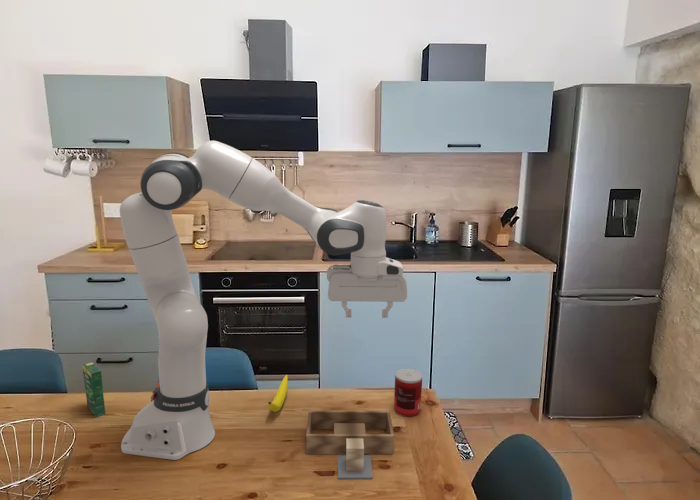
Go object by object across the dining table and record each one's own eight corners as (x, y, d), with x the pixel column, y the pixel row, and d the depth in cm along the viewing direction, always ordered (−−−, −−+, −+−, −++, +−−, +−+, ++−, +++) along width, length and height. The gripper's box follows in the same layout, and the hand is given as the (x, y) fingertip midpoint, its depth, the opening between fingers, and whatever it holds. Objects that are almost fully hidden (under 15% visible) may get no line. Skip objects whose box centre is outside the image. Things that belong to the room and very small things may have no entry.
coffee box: (86, 406, 143) (81, 363, 140) (96, 402, 145) (92, 360, 142) (94, 417, 137) (90, 373, 134) (106, 414, 139) (101, 370, 136)
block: (346, 471, 116) (346, 448, 115) (345, 460, 120) (346, 438, 119) (363, 471, 117) (364, 448, 115) (362, 460, 120) (363, 438, 119)
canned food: (413, 400, 149) (414, 366, 147) (425, 414, 142) (427, 379, 139) (389, 404, 147) (390, 370, 144) (400, 419, 139) (402, 382, 137)
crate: (306, 454, 123) (306, 435, 122) (308, 427, 134) (308, 410, 133) (393, 454, 124) (394, 436, 123) (388, 427, 135) (389, 410, 134)
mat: (337, 478, 114) (337, 477, 114) (337, 457, 122) (337, 455, 122) (372, 478, 115) (372, 477, 115) (370, 457, 122) (370, 455, 122)
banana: (291, 389, 154) (291, 370, 153) (275, 424, 136) (275, 402, 134) (282, 389, 155) (282, 370, 153) (264, 423, 136) (264, 402, 135)
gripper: (326, 267, 123) (326, 320, 126) (409, 268, 123) (407, 321, 126) (327, 261, 129) (326, 312, 132) (406, 262, 130) (403, 313, 133)
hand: (366, 316), depth 129 cm, fingers open, 8 cm apart
